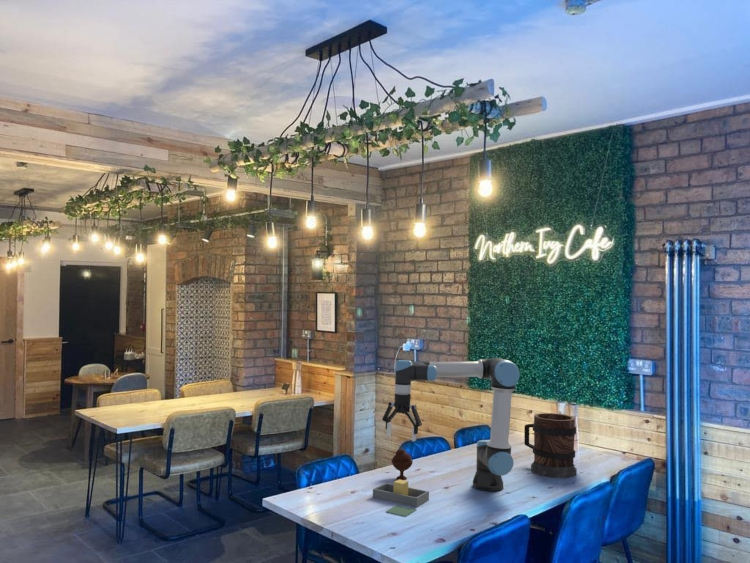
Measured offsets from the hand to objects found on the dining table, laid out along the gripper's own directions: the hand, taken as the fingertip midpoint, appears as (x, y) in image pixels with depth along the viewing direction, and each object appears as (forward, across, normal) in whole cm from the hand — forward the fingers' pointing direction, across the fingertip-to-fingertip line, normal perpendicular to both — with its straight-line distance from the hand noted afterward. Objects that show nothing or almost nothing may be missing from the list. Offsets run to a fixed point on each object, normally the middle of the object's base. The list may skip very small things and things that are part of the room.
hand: (401, 438), depth 289 cm
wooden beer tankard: (+27, -43, -90) cm, 103 cm away
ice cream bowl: (+28, +15, -27) cm, 41 cm away
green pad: (+27, -11, +16) cm, 34 cm away
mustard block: (+27, -2, +2) cm, 27 cm away
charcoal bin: (+27, -2, +3) cm, 28 cm away
